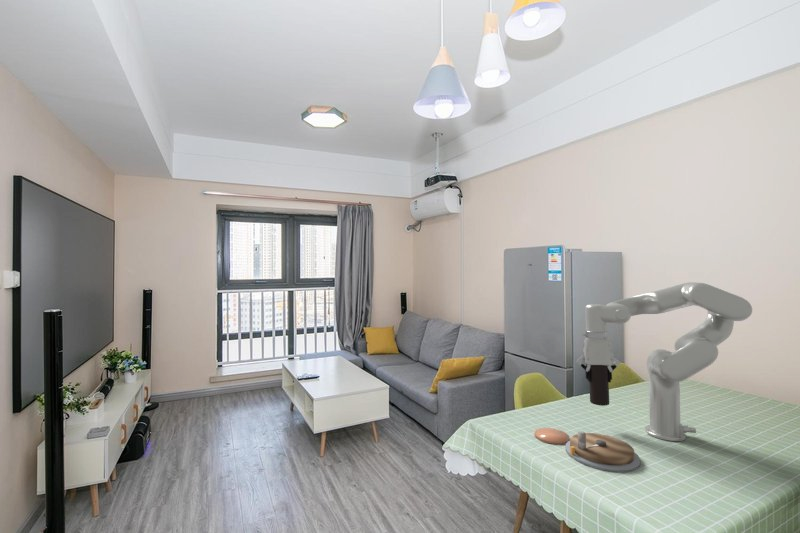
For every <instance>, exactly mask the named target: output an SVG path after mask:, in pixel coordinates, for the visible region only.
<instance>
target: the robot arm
mask: <svg viewBox="0 0 800 533" xmlns="http://www.w3.org/2000/svg"><path fill="white" fill-rule="evenodd" d="M693 306H695V307H699V308H702V309H703V310H706V311H707V316H706V319H705V320H704V321H703V322H702V323H701V324H699V325H697V327H694V328H693V329H691V330H690V331H688V332H687V333H685V334H683V335H681V336H679V338H677V339H676V340H675V342H674V350H675V351H674V352H672V351H670V350H666V349H661V348H660V349H655V350H652V351H651V352H650V353H649V355H648V356H647V360H646V368H647V374H648V382H649V384H648V385H649V386H648V387H649V390H648V391H649V392H648V393H649V424H648V425H646V426H645V427H644V430H645V432H646V434H648V435H649V436H651V437H654V438H656V439H659V440H664V441H668V442H669V441H671V442H682V441H685V440H686V439H687V435H686V434H687V433H690V434H696V433H697V429H696V427H692V426H691V427H690V426H689V425H688V424H687V425H685V424H684V425H683V424H682V423H681V387H680V383H681V382H683V381H685V380H687V379H690V378H691V377H693V376H694V375H696V374H698V373H699V372H701V371H704V370H706V368H708V367H709V366H711V365H712V364H714V362H715V361H717V358H718V356H719V349H718V346H719V345H721V344H722V343H724V342H725V341H726V340H727V339H728V338H730V336H731V335H732V333H733V329H734V324H735V322H742V321H745V320H748V319H749V318H750V317H751V315H752V313H753V307H752V304H751V303H750V301H748V300H747V299H745V298H744V297H742V296H740V295H736V294H735V293H731V292H730V291H726V290H724V289H720V288H719V287H716V286H713V285H710V284H709V283H704V282H692V281H689V282H684V283H680V284H677V285H673V286H670V287H666V288H663V289H659V290H655V291H651V292H648V293H647V292H646V293H642V294H639V295H638V294H637V295H634V296H631V297H626V298H621V299H618V300H615V301H611V302H608V303H607V304H599V303H590V304H586V306H585V308H584V310H585V316H584V317H585V332H582V333H581V335H582V337H585V338H584V340H583V351H582V352H583V353H582V354H581V355H580V356H579V358H577V359H576V360H575V361H576V363H577V364H578V365H579V366H580V367H581V368H582V369H584V372H585V379H586V380H587V382H588V383H589V382H591V372H590V366H591V365H605V366H608V382H609V383H611V381H612V380H613V372H614V370H615V369H616V368H617V367H618V366H619V365H620V364H621V361H620V360H618V358H616V357H615V356H614V352H613V345H612V342H611V339H609V337H608V335H609V334H608V324H609V323H610V324H619V325H620V324H626V323H627V322H629V321H630V320H631V317H633V316H639V315H659V314H665V313H669V312H671V311H675V310H679V309H684V308H687V307H693ZM583 362H584V363H585V364H584V363H583Z"/></svg>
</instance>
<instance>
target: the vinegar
mask: <svg viewBox="0 0 800 533" xmlns="http://www.w3.org/2000/svg"><path fill="white" fill-rule="evenodd" d="M590 372H591V382H589V381H588V386H589V388H588V389H589V401H590V404H593V405H595V406H602V407H604V406H608V405H609V404H610V385H609V383H610V382H608V366H605V365H591V366H590Z"/></svg>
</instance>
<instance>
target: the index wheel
mask: <svg viewBox="0 0 800 533" xmlns="http://www.w3.org/2000/svg"><path fill="white" fill-rule="evenodd" d="M569 441H570V446H573V447H575V453H576V454H577V455H579V456H581V457H583V458H585V459H588V460H590V461H594V462H597V463H602V464H608V465H625V464H629V463H631V462H633V461H634V452H635V450H634V448H633V447H632V446H631V445H630V444H629V443H627V442H626V441H624V440H621V439H619V438H617V437H613V436H610V435H605V434H600V433H594V432H593V433H591V432H584V431H577V433H576V434H574V435H572V436H571V437H569Z"/></svg>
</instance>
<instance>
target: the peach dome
mask: <svg viewBox="0 0 800 533" xmlns="http://www.w3.org/2000/svg"><path fill="white" fill-rule="evenodd" d="M534 437H535V438H536V439H537V440H538V441H541V442H543V443H546V444H549V445H550V444H551V445H564V444H565V445H566V443H567V442H568V441H570V435H569V434H568V433H567V432H565V431H562V430H560V429H556V428H552V427H541V428H536V429H535V430H534Z"/></svg>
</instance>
